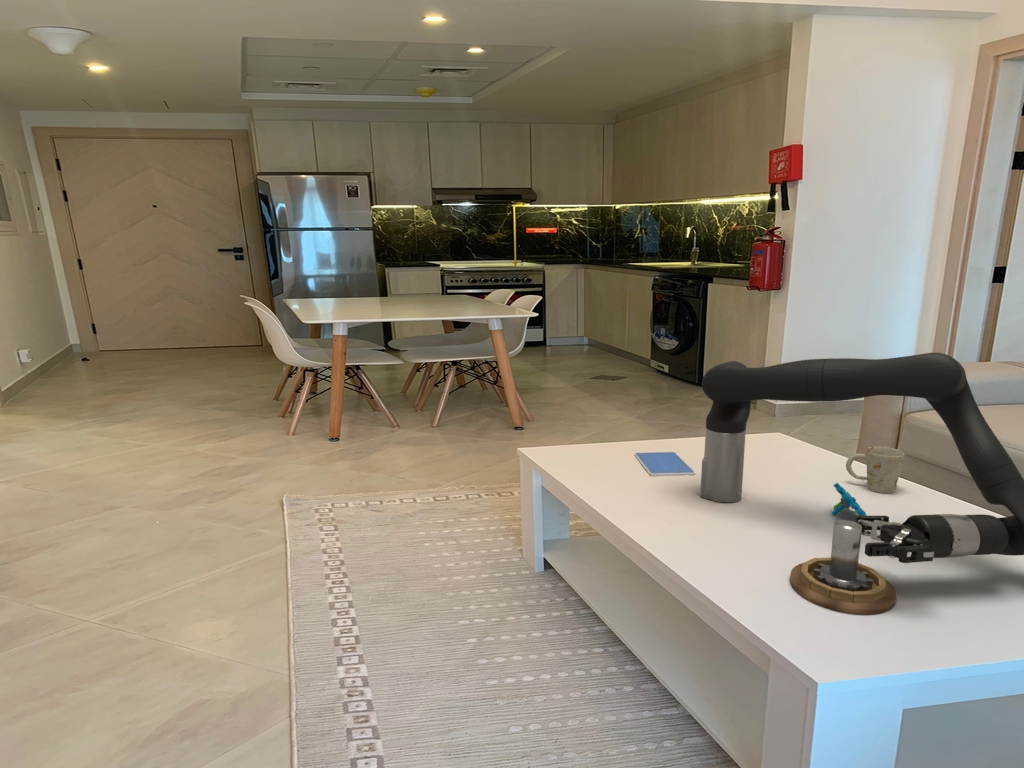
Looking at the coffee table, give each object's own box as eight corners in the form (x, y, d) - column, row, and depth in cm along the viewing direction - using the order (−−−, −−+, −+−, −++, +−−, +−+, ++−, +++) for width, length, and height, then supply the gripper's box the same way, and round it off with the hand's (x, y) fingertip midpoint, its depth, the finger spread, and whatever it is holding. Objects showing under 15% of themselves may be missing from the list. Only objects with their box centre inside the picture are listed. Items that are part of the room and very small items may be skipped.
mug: (899, 497, 161) (903, 458, 159) (842, 488, 167) (845, 450, 165) (900, 487, 168) (905, 449, 166) (845, 478, 174) (849, 442, 172)
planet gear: (812, 588, 117) (817, 530, 114) (814, 566, 125) (819, 511, 122) (872, 600, 112) (879, 540, 110) (871, 576, 120) (877, 520, 118)
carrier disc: (786, 600, 115) (787, 586, 114) (793, 559, 130) (794, 546, 129) (898, 624, 107) (900, 609, 107) (893, 578, 122) (894, 564, 122)
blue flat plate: (633, 456, 196) (633, 452, 196) (675, 455, 197) (675, 450, 197) (650, 478, 177) (650, 474, 177) (696, 477, 178) (696, 472, 178)
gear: (873, 521, 143) (839, 485, 145) (850, 537, 145) (817, 501, 147) (868, 510, 153) (837, 476, 156) (846, 525, 155) (816, 491, 157)
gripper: (917, 500, 124) (832, 503, 123) (973, 532, 110) (878, 536, 109) (912, 538, 125) (829, 541, 124) (967, 574, 111) (873, 578, 110)
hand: (852, 539), depth 117 cm, fingers open, 8 cm apart
